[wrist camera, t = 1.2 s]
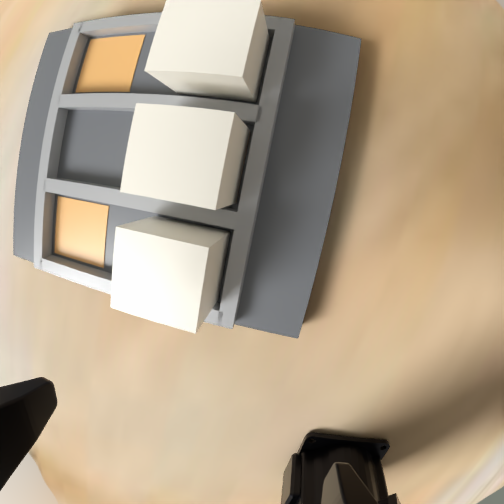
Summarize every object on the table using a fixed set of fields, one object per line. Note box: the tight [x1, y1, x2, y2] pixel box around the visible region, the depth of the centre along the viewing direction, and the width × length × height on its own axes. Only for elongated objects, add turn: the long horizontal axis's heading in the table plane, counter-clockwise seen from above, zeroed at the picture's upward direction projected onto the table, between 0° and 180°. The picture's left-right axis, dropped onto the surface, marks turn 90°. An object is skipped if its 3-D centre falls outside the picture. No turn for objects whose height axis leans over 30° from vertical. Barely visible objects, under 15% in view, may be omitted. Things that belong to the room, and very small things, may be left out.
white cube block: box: [120, 103, 250, 210], centre depth 13 cm, size 4×4×4 cm
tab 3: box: [111, 216, 230, 333], centre depth 14 cm, size 4×4×4 cm
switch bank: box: [13, 12, 361, 338], centre depth 16 cm, size 20×16×2 cm
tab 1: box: [144, 0, 270, 103], centre depth 12 cm, size 4×4×4 cm
